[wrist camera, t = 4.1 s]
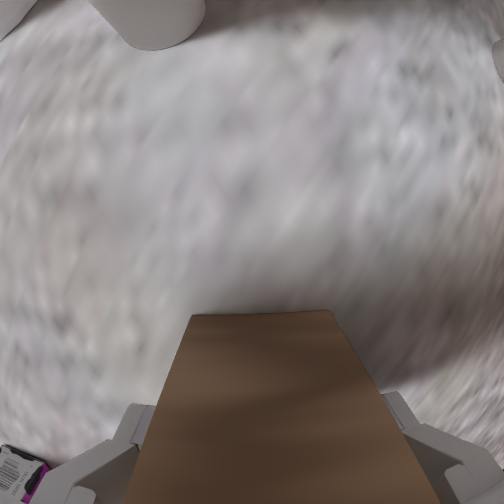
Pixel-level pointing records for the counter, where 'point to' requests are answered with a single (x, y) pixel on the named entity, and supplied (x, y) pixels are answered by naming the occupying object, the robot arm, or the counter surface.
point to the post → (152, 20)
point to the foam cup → (13, 14)
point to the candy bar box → (20, 473)
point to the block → (273, 421)
